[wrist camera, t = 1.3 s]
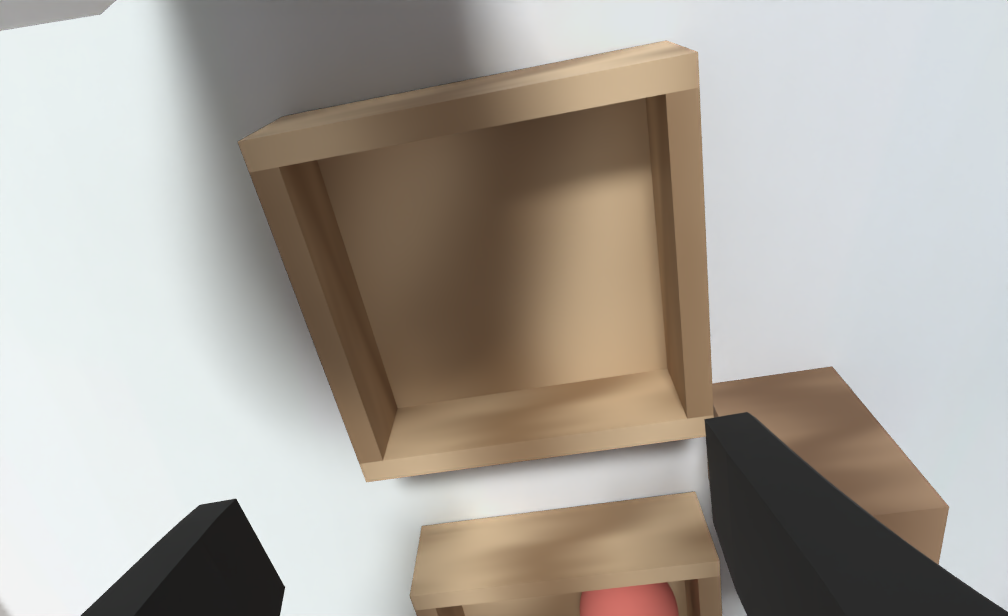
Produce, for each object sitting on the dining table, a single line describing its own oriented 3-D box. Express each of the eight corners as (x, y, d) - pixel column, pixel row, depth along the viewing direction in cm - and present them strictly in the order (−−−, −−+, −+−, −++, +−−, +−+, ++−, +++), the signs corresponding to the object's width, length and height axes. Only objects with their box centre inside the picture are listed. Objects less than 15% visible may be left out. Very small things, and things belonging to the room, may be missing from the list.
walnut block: (831, 366, 20) (948, 506, 14) (826, 462, 22) (928, 619, 16) (703, 384, 20) (771, 527, 15) (708, 477, 22) (769, 635, 17)
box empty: (666, 40, 15) (697, 52, 13) (687, 375, 20) (714, 435, 17) (282, 116, 16) (237, 142, 14) (385, 418, 21) (366, 482, 18)
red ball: (663, 533, 22) (686, 618, 19) (670, 596, 24) (692, 684, 21) (569, 544, 23) (577, 630, 20) (581, 606, 24) (591, 694, 21)
